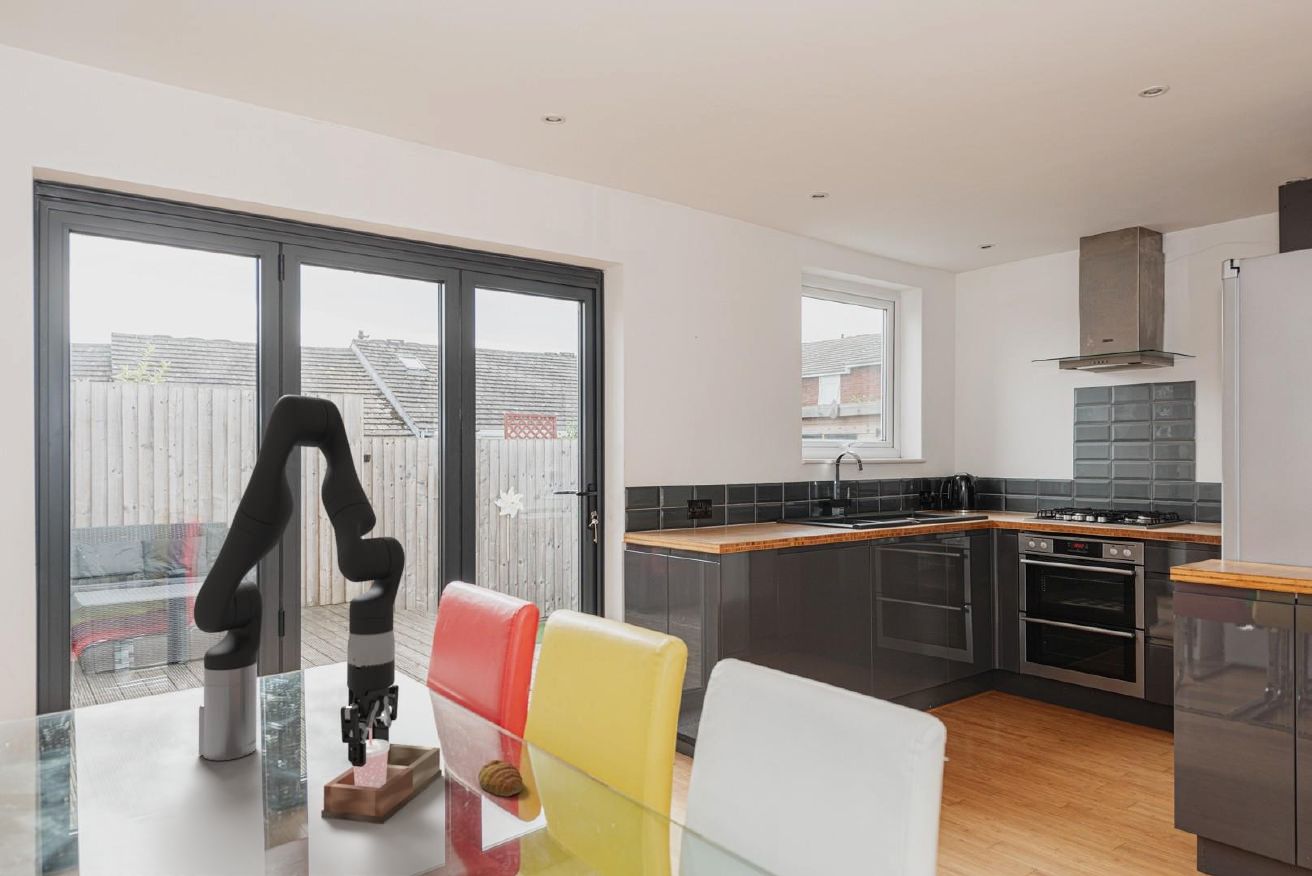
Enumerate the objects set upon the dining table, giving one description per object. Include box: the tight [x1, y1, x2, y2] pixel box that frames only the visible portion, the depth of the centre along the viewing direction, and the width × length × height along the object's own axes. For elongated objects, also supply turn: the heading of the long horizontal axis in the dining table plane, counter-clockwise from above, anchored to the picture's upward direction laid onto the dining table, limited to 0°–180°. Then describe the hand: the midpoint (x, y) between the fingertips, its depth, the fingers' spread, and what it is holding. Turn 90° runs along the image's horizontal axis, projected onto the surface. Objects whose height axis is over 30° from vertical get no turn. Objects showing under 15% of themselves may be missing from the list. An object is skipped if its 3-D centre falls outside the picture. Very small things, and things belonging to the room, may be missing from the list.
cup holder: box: [320, 743, 443, 825], centre depth 143 cm, size 11×20×5 cm, turn 168°
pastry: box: [477, 759, 524, 798], centre depth 146 cm, size 9×7×4 cm
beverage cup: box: [354, 728, 391, 788], centre depth 138 cm, size 6×6×14 cm
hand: (370, 757), depth 138 cm, fingers open, 6 cm apart
